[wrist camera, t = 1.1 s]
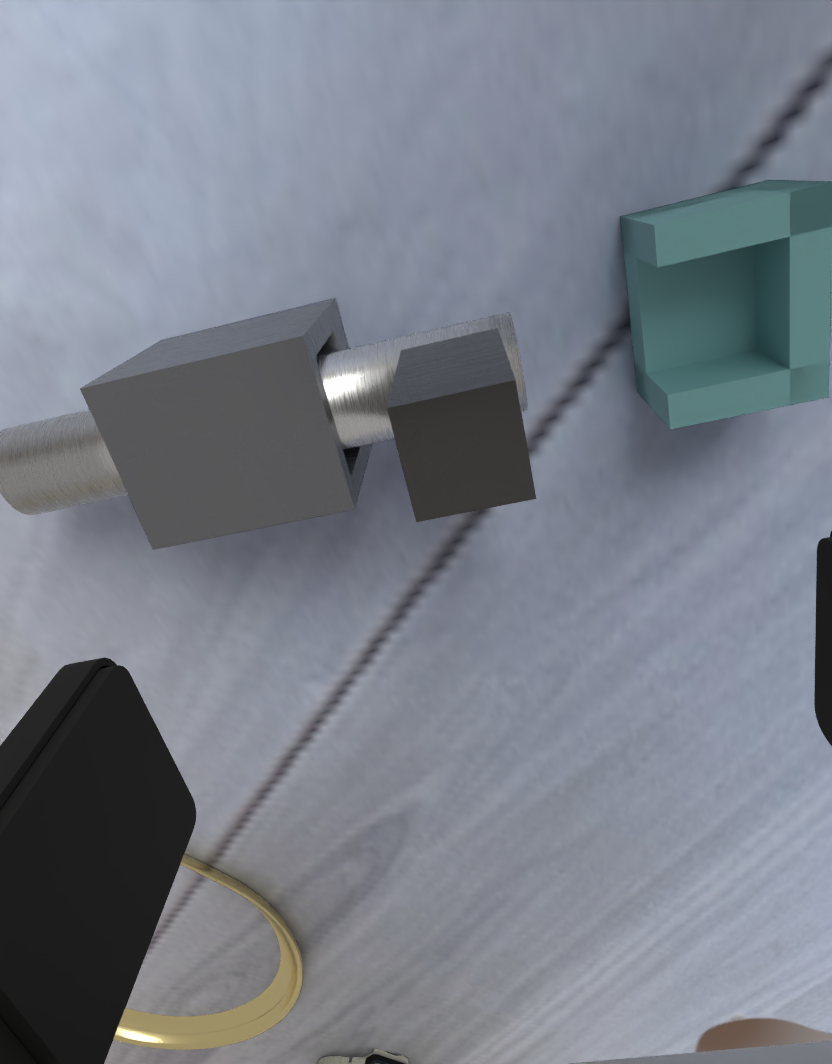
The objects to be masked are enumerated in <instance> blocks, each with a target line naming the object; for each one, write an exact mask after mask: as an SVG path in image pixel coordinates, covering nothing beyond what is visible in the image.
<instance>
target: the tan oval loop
mask: <svg viewBox="0 0 832 1064" xmlns="http://www.w3.org/2000/svg"><path fill="white" fill-rule="evenodd" d="M180 864H181V865H183V866H185V867H187V868H189V869H191V870H193V871H195V872H197V873H199V874H201V875H203V876H205V877H207V878H209V879H211V880H213V881H215V882H217V883H219V884H221V885H223V886H225V887H227V888H229V889H231V890H232V891H234V892H236V893H238V894H240V895H241V896H243V897H244V898H246V899H247V900H249V901H250V902H251V903H252V904H253V905H254V906H256V907H257V908H258V909H259V910H260V911H261V913H262V914H263V915H264V916H265V917H266V919H267V920H268V921H269V923H270V924H271V926H272V928H273V929H274V931H275V933H276V936H277V938H278V941H279V945H280V952H281V960H280V966H279V970H278V972H277V975H276V977H275V979H274V980H273V982H272V983H271V985H270V986H269V987H268V988H267V989H266V990H265V991H264V992H263V993H262V994H261V995H259V996H258V997H257V998H255V999H254V1000H252V1001H250V1002H249V1003H246V1004H244V1005H242V1006H240V1007H237V1008H235V1009H232V1010H229V1011H225V1012H221V1013H217V1014H211V1015H204V1016H189V1017H179V1016H164V1015H156V1014H149V1013H144V1012H139V1011H135V1010H131V1009H128V1008H125V1010H124V1012H123V1015H122V1018H121V1020H120V1023H119V1026H118V1028H117V1031H116V1033H115V1036H114V1039H113V1040H116V1041H120V1042H124V1043H128V1044H133V1045H138V1046H144V1047H151V1048H161V1049H177V1050H191V1049H207V1048H214V1047H220V1046H225V1045H230V1044H234V1043H238V1042H241V1041H244V1040H247V1039H250V1038H252V1037H255V1036H257V1035H259V1034H261V1033H263V1032H265V1031H266V1030H268V1029H270V1028H271V1027H273V1026H274V1025H276V1024H277V1023H278V1022H280V1021H281V1020H282V1019H283V1018H284V1017H285V1016H286V1015H287V1014H288V1012H289V1011H290V1010H291V1009H292V1007H293V1006H294V1004H295V1003H296V1001H297V999H298V996H299V994H300V992H301V988H302V984H303V975H304V970H303V961H302V956H301V952H300V950H299V947H298V945H297V942H296V940H295V938H294V936H293V934H292V932H291V931H290V929H289V927H288V926H287V925H286V923H285V922H284V920H283V919H282V918H281V917H280V915H279V914H278V913H277V912H276V911H275V910H274V909H273V908H272V907H271V906H270V905H269V904H268V903H267V902H266V901H265V900H264V899H263V898H261V897H260V896H259V895H258V894H256V893H255V892H254V891H252V890H251V889H249V888H248V887H246V886H245V885H243V884H242V883H240V882H238V881H237V880H235V879H233V878H231V877H230V876H228V875H226V874H224V873H222V872H220V871H218V870H216V869H214V868H212V867H210V866H208V865H206V864H204V863H202V862H200V861H198V860H196V859H194V858H192V857H190V856H188V855H186V854H184V855H183V858H182V861H181V863H180ZM291 950H292V951H291Z"/></svg>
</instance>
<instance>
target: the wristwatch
mask: <svg viewBox="0 0 832 1064" xmlns="http://www.w3.org/2000/svg"><path fill="white" fill-rule="evenodd" d="M349 1059H350V1058H348V1057H341V1056H329V1057H323V1058H321V1059H319V1060H318V1063H317V1064H408V1059H407V1058H405V1057H404V1055H401V1056H400V1055H398V1056H395V1055H392V1054H389V1053H386V1052H385V1051H383V1050H379V1049H374V1050H373V1052H372V1053H370V1054H368V1055H366V1056H364V1057H353V1058H352V1060H351V1063H350V1062H349Z"/></svg>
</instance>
